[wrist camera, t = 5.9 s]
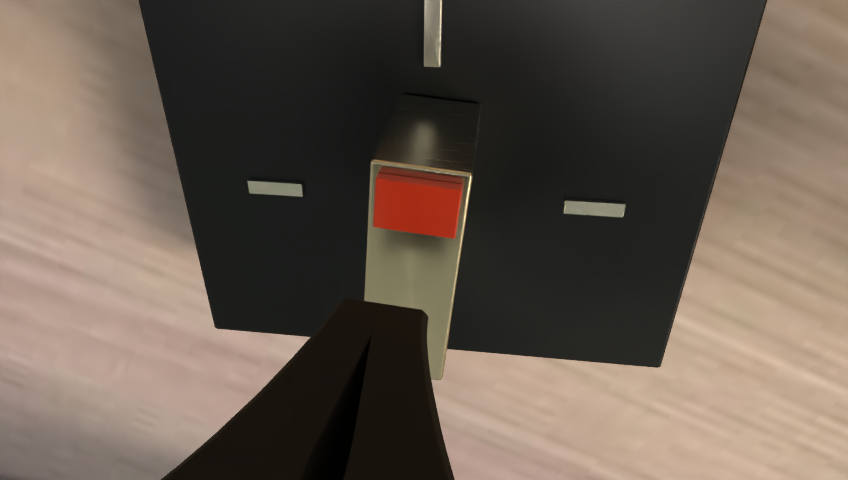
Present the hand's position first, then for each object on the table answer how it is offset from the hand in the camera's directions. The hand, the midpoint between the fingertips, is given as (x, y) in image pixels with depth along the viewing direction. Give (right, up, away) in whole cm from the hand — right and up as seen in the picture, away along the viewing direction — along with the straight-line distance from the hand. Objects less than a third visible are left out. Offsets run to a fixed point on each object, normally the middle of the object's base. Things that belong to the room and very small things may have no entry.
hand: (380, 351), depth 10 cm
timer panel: (+1, +4, +8) cm, 9 cm away
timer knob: (+1, +3, +5) cm, 6 cm away
